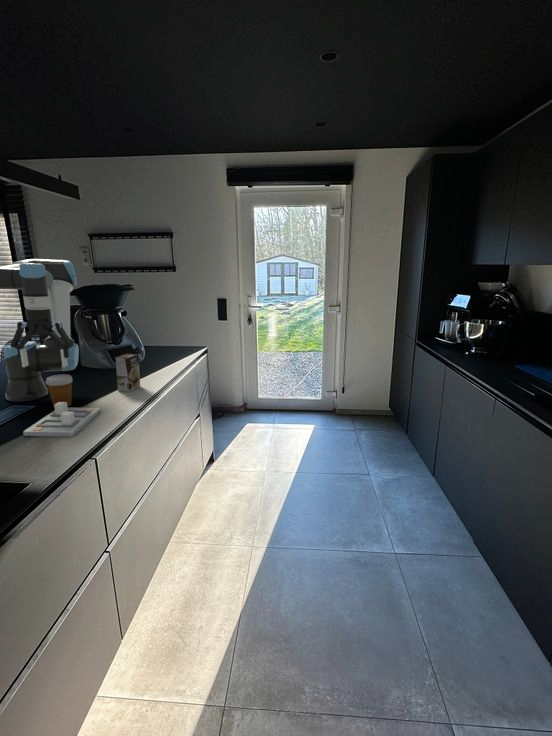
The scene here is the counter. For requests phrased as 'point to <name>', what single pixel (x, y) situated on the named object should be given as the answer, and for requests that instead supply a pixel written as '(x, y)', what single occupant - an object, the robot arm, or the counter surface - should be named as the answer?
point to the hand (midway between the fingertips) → (45, 366)
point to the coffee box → (128, 372)
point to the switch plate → (54, 426)
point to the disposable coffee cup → (60, 388)
